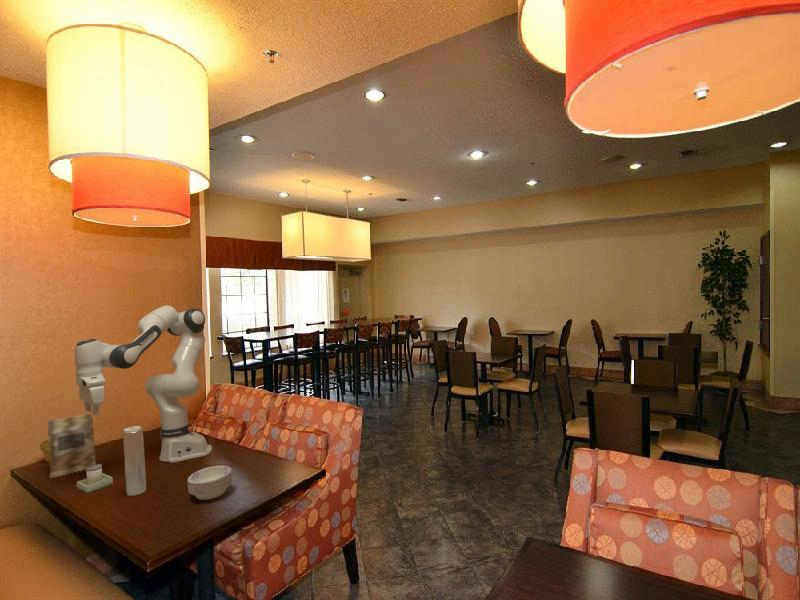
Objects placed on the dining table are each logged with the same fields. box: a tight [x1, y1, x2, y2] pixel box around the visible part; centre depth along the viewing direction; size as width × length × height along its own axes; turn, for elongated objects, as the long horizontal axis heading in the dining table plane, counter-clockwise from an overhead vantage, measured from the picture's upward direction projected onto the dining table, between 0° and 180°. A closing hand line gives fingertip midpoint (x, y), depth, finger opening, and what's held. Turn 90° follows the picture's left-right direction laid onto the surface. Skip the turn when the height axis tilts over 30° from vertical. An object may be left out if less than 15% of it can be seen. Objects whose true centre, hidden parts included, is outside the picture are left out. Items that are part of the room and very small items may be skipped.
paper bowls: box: [187, 465, 233, 501], centre depth 156 cm, size 15×15×8 cm
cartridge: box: [85, 463, 103, 486], centre depth 169 cm, size 5×5×7 cm
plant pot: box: [39, 439, 50, 462], centre depth 201 cm, size 10×10×10 cm
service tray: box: [76, 472, 114, 494], centre depth 169 cm, size 9×9×2 cm
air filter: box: [122, 425, 147, 497], centre depth 161 cm, size 6×6×25 cm
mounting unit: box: [47, 413, 97, 479], centre depth 187 cm, size 16×10×23 cm, turn 127°
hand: (92, 412), depth 170 cm, fingers open, 8 cm apart
